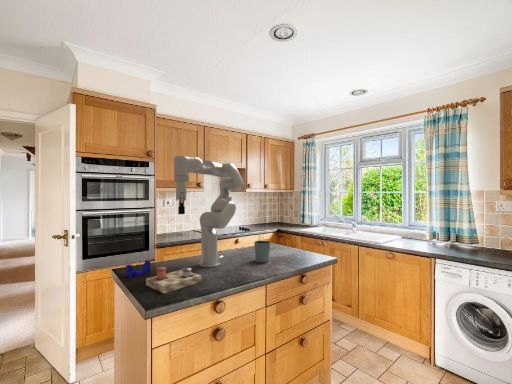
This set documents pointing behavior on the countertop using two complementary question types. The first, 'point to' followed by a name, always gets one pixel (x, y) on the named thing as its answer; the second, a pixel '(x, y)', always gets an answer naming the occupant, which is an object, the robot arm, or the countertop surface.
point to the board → (172, 281)
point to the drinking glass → (262, 251)
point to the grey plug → (186, 272)
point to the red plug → (161, 273)
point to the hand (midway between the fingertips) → (181, 214)
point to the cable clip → (144, 269)
